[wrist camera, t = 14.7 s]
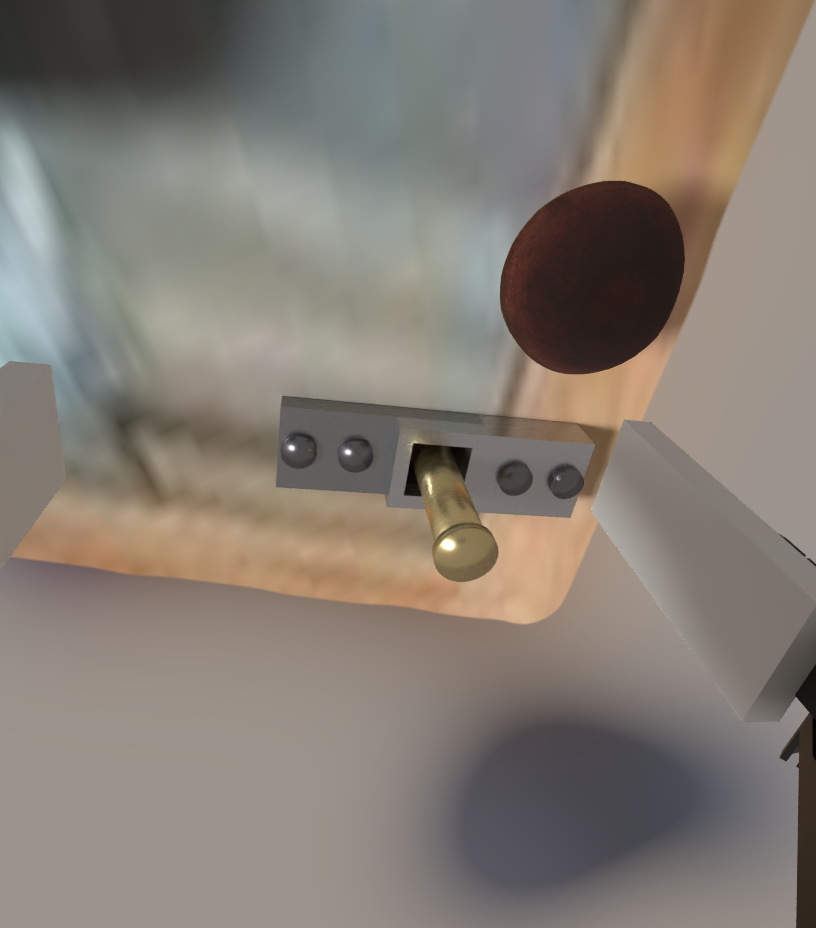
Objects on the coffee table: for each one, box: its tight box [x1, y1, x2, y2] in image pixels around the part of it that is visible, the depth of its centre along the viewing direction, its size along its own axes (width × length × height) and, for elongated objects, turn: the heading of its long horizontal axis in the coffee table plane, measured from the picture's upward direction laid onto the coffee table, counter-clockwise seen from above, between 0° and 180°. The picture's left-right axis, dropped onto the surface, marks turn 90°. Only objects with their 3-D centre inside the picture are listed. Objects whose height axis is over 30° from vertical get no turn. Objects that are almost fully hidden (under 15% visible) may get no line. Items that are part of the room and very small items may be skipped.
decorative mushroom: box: [500, 181, 685, 374], centre depth 37 cm, size 11×11×15 cm
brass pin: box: [411, 443, 498, 582], centre depth 44 cm, size 4×4×15 cm
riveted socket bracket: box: [276, 396, 595, 518], centre depth 49 cm, size 25×7×5 cm, turn 81°
